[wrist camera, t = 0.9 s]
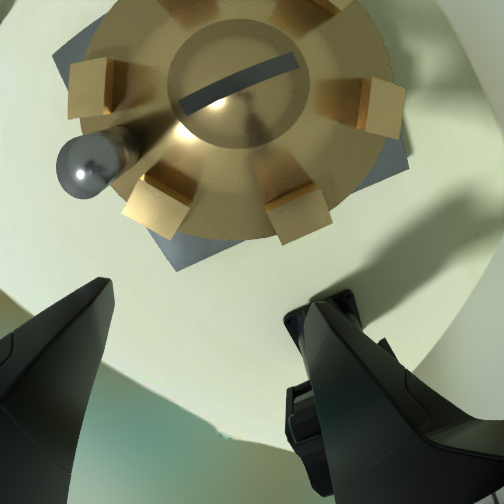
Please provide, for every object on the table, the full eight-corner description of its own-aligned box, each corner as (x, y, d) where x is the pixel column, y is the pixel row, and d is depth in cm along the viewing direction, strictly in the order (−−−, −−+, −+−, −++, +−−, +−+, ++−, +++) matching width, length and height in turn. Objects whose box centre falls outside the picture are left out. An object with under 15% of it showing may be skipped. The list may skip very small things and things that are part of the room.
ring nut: (301, -52, 9) (338, -107, 3) (397, 161, 16) (467, 196, 10) (65, 55, 11) (-7, 46, 5) (180, 257, 19) (162, 332, 13)
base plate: (398, 163, 18) (410, 169, 17) (179, 260, 21) (176, 273, 19) (302, -52, 10) (308, -62, 8) (62, 57, 12) (50, 55, 11)
